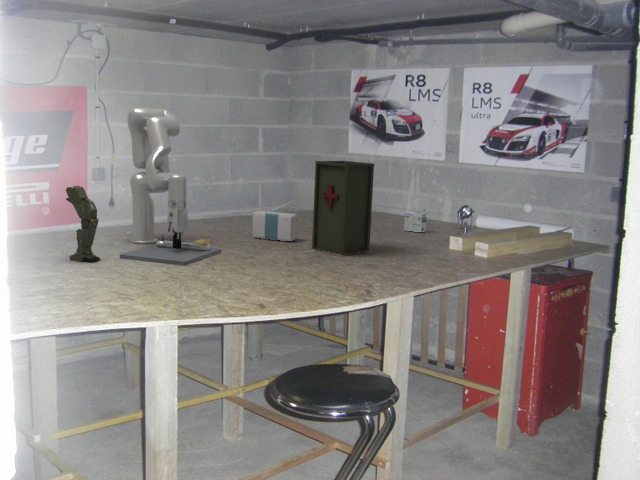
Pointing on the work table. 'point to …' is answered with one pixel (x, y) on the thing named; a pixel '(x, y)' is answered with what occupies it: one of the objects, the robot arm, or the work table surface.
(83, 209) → the mechanical leg
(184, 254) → the base plate
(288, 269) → the work table surface
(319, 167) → the first aid box
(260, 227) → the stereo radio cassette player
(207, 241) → the strip
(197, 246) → the link
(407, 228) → the light bulb box
